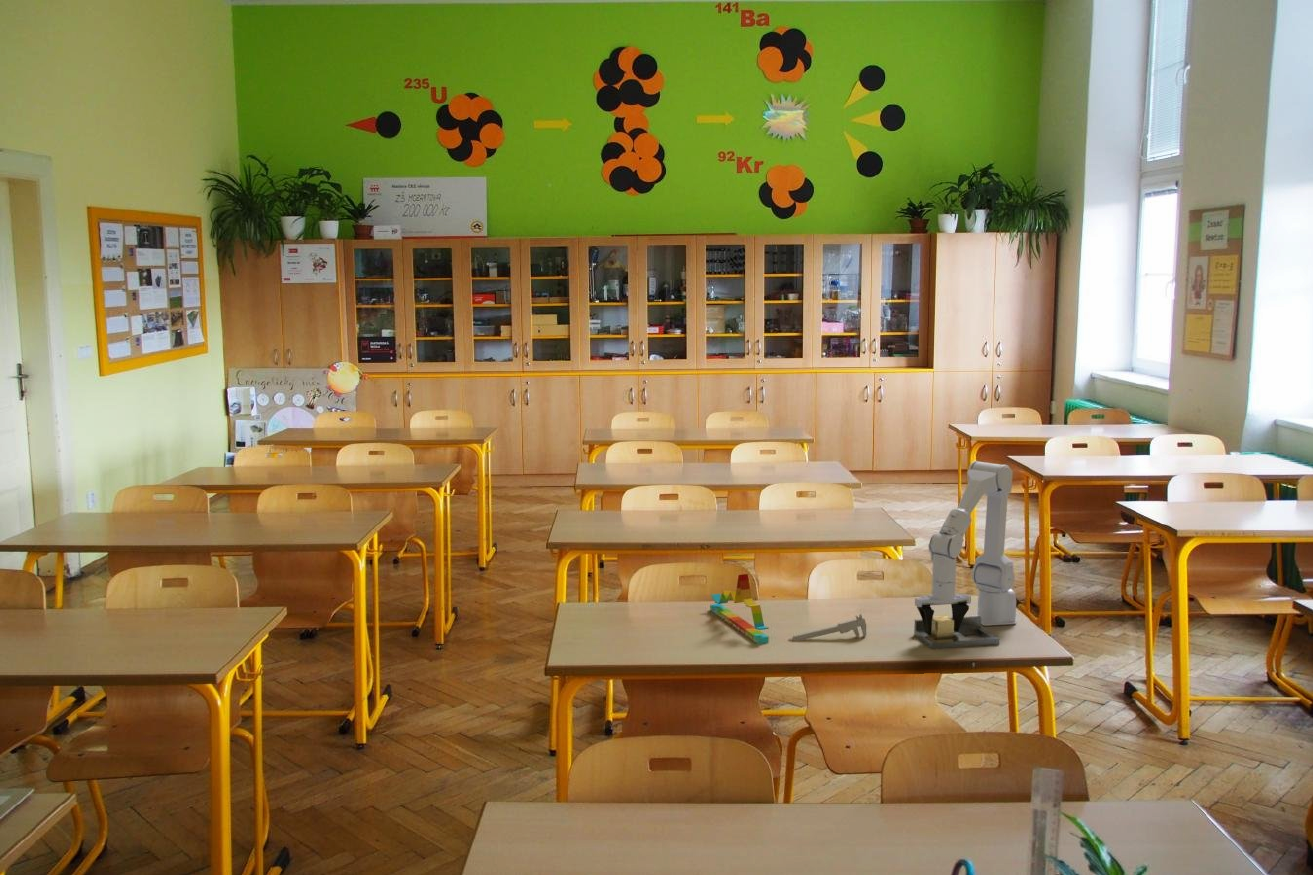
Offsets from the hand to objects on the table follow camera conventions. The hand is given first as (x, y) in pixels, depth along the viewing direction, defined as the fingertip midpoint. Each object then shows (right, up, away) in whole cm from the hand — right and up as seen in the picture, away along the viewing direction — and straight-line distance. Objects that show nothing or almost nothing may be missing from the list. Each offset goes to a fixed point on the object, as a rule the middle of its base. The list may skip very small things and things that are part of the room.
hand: (941, 631), depth 279 cm
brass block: (0, -2, +1) cm, 3 cm away
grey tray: (+4, -2, +1) cm, 5 cm away
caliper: (-29, -3, +2) cm, 29 cm away
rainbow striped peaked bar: (-51, -1, +12) cm, 53 cm away
